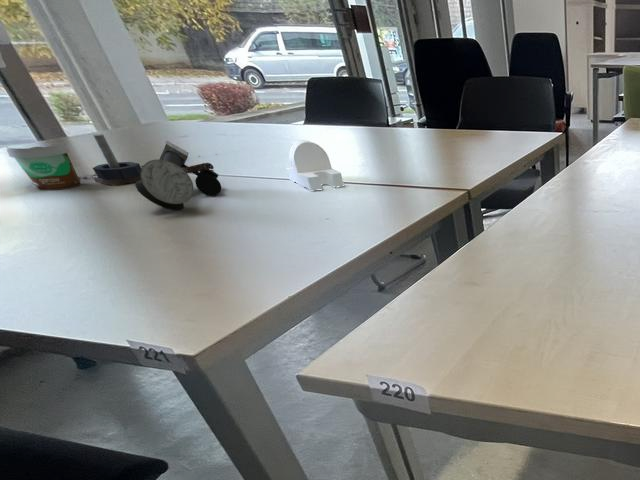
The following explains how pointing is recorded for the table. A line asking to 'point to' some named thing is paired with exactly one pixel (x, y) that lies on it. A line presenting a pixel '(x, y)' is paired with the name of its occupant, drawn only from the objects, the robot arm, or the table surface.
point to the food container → (47, 166)
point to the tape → (118, 171)
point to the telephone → (175, 179)
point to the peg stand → (110, 162)
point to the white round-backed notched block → (311, 166)
